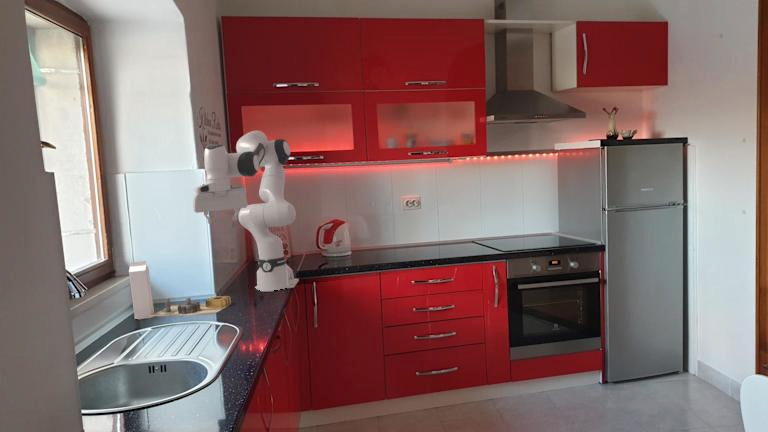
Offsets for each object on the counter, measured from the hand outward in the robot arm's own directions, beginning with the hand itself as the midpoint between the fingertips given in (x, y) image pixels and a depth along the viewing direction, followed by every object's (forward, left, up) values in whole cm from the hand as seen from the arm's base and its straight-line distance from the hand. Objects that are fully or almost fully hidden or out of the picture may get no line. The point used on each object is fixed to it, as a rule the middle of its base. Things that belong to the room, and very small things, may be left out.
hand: (222, 221), depth 201 cm
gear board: (+6, -14, -35) cm, 38 cm away
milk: (+9, -32, -35) cm, 49 cm away
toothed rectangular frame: (+1, -5, -33) cm, 33 cm away
